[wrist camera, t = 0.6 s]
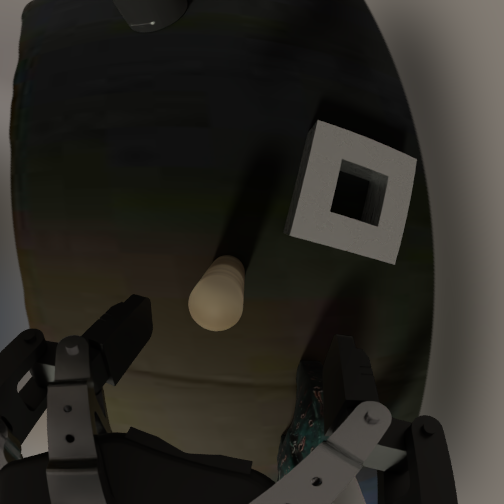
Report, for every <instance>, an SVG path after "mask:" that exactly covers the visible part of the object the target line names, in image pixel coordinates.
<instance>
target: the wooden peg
mask: <svg viewBox="0 0 504 504" xmlns="http://www.w3.org/2000/svg"><path fill="white" fill-rule="evenodd" d="M244 279H245V269H244V266H243V264H242V262H241V261H240V260H239V259H238V258H236V257H234V256H230V255H224V256H220V257H218V258H217V259H216V260H215V261H214V262H213V263H212V264H211V266H210V267H209V269H208V270H207V271H206V273H205V274H204V275H203V277H202V278H201V280H200V281H199V282H198V284H197V285H196V286H195V288H194V289H193V291H192V292H191V295H190V297H189V310H190V313H191V316H192V317H193V319H194V320H195V321H196V322H197V323H198V324H199V325H200V326H202V327H203V328H205V329H208V330H212V331H222V330H226V329H228V328H230V327H232V326H233V325H235V324H236V323H237V322H238V320H239V319H240V317H241V314H242V311H243V296H244Z"/></svg>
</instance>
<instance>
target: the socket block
mask: <svg viewBox="0 0 504 504" xmlns="http://www.w3.org/2000/svg"><path fill="white" fill-rule="evenodd" d="M416 161H417V159H415V158H413V157H410V156H408V155H406V154H404V153H402V152H400V151H398V150H395V149H393V148H391V147H389V146H386V145H384V144H382V143H379V142H377V141H374V140H372V139H369V138H367V137H364V136H362V135H359V134H357V133H354V132H351V131H349V130H346V129H343V128H340V127H337V126H334V125H332V124H329V123H326V122H323V121H319V120H317V122H316V123H315V124H314V126H313V127H312V128H311V130H310V131H309V132H308V134H307V138H306V143H305V147H304V151H303V155H302V159H301V163H300V168H299V172H298V176H297V180H296V184H295V188H294V192H293V196H292V200H291V204H290V208H289V212H288V216H287V220H286V223H285V227H284V231H283V232H284V233H286V234H288V235H290V236H293V237H297V238H301V239H305V240H308V241H312V242H316V243H320V244H323V245H327V246H331V247H334V248H338V249H341V250H345V251H349V252H352V253H356V254H359V255H363V256H366V257H370V258H373V259H377V260H380V261H384V262H387V263H391V264H394V265H395V262H396V258H397V254H398V251H399V247H400V243H401V239H402V235H403V231H404V226H405V222H406V217H407V213H408V208H409V203H410V198H411V192H412V187H413V181H414V175H415V168H416ZM339 170H340V171H342V172H345V173H348V174H351V175H354V176H357V177H360V178H362V179H365V180H368V181H370V182H369V187H368V191H367V196H366V200H365V205H364V209H363V213H362V218H361V221H358V220H355V219H352V218H349V217H346V216H342V215H339V214H336V213H333V212H330V209H331V205H332V201H333V197H334V192H335V188H336V184H337V179H338V175H339Z"/></svg>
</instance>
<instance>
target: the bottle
mask: <svg viewBox="0 0 504 504" xmlns="http://www.w3.org/2000/svg"><path fill="white" fill-rule="evenodd" d="M331 504H366V503H365V500H364V498H363V495H362V492H361V490H360V487H359V484H358V482H357V479H356V477H354V478H353V479H352V480H351V482H350V483H349V484H348V485H347V486H346V488H345V489H344V490H343V491H342V492H341V493H340V494H339V495H338V497H337V498H336V499H335V500H334V501H333V502H332V503H331Z"/></svg>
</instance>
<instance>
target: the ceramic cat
mask: <svg viewBox="0 0 504 504" xmlns="http://www.w3.org/2000/svg"><path fill="white" fill-rule="evenodd" d="M296 382H297V396H296V407H295V412H294V418H293V421H292V424H291V427H290V428H289V429H288V431H287V434H286V436H281V442H280V446H279V453H278V456H277V462H278V472H279V475H278V480H277V482H278V481H279V480H280V479H282V478H283V477H284V476H285V475H286V474H288V473H289V472H290V471H291V470H292V469H293V468H295V467H296V466H297V465H298V464H299V463H300V462H301V461H302V460H303V459H305V458H306V457H307V456H308V455H309V454H310V453H311V452H312V451H313V450H314V449H315V448H316V447H317V446H318V445H319V444H320V443H321V442H323V441H324V440H325V441H326V440H327V439H328V438H329V437H330V436H324V399H323V365H322V364H321V362H319V361H303V360H301V361H300V364H299V366H298V369H297V378H296Z"/></svg>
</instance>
